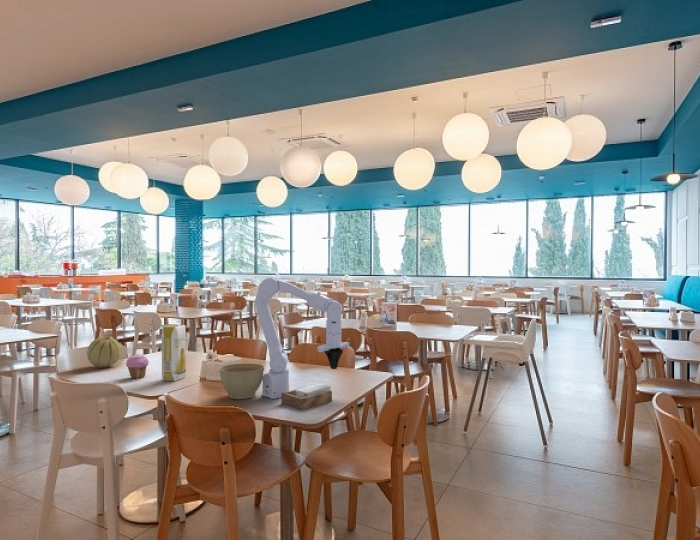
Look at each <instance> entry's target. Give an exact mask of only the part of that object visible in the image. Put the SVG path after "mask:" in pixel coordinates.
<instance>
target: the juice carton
mask: <svg viewBox="0 0 700 540" xmlns="http://www.w3.org/2000/svg"><path fill="white" fill-rule="evenodd" d="M186 339H187V338H186V325H185V324H181V323H180V322H174V323H173V324H171V325H167V326H162V327H161V377H162V378H161V380H162V381H163V382H164V381H166V382H168V381H169V382H178V381H180V380H182V379H184V378H186V372H187V363H186V362H187V361H186V360H187V359H186V358H187V357H186V354H187V351H186V349H187V348H186V346H187V345H186V344H187V343H186V342H187V341H186Z"/></svg>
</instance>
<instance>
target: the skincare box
mask: <svg viewBox="0 0 700 540" xmlns="http://www.w3.org/2000/svg"><path fill="white" fill-rule="evenodd" d="M300 388H301V389H300ZM300 388H297V389H298V390H296V389H295V390H296V396H297V397H301V398H303V397H307V396H311V395H315V394H319V393H323V392H327V391H332V390H331V389H332V388H331V385H327V384H325V383H320V382H319V383H316V384H312V385H309V386H305V388H304V387H300Z"/></svg>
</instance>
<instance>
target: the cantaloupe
mask: <svg viewBox="0 0 700 540" xmlns="http://www.w3.org/2000/svg"><path fill="white" fill-rule="evenodd" d="M121 352H122V347H121V344H120V343H119V342H118V340H117V339H115V338H114V337H111V336H110V335H108V336H100V337H97V338H95V339H94V340H93V341H91V342H90V343H89V345H88V347H87V350H86V356H87V360H88V362H89V363H90V364H91V365H93V367H96V368H102V367H104V368H108V367H112V366H114V365H115V364H117V362H118V361H119V360H120V357H121Z"/></svg>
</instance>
